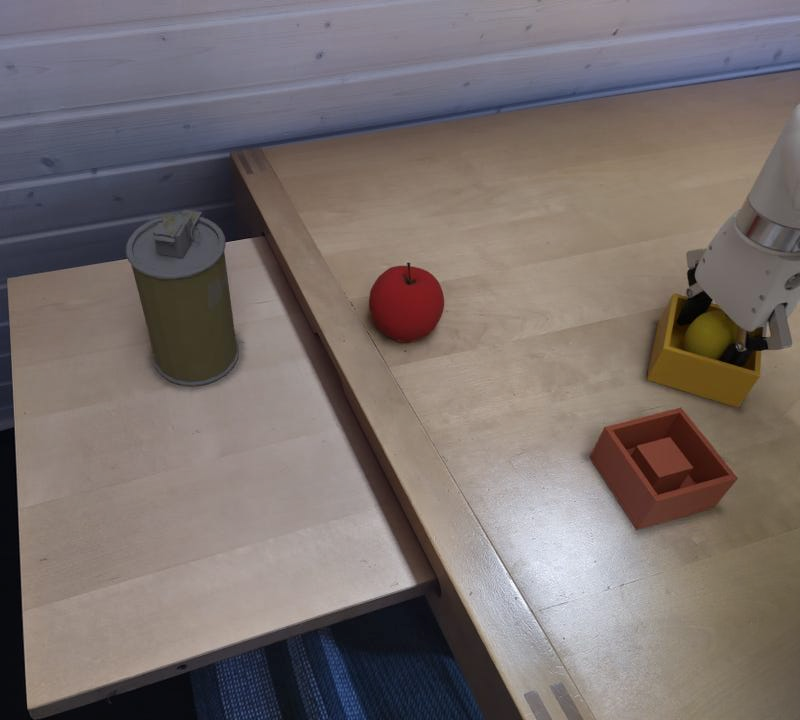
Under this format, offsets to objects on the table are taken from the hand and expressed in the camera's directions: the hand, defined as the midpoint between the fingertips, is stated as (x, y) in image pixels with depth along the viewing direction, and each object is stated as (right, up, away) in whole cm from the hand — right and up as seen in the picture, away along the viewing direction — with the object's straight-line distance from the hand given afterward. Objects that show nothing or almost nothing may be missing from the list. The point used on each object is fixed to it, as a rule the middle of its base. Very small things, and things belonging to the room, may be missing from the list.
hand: (708, 343), depth 84 cm
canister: (-61, -1, +4) cm, 61 cm away
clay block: (-11, -14, -9) cm, 20 cm away
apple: (-35, +2, +7) cm, 36 cm away
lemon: (0, -2, +2) cm, 3 cm away
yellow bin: (0, -2, +3) cm, 4 cm away
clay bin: (-11, -15, -8) cm, 20 cm away
